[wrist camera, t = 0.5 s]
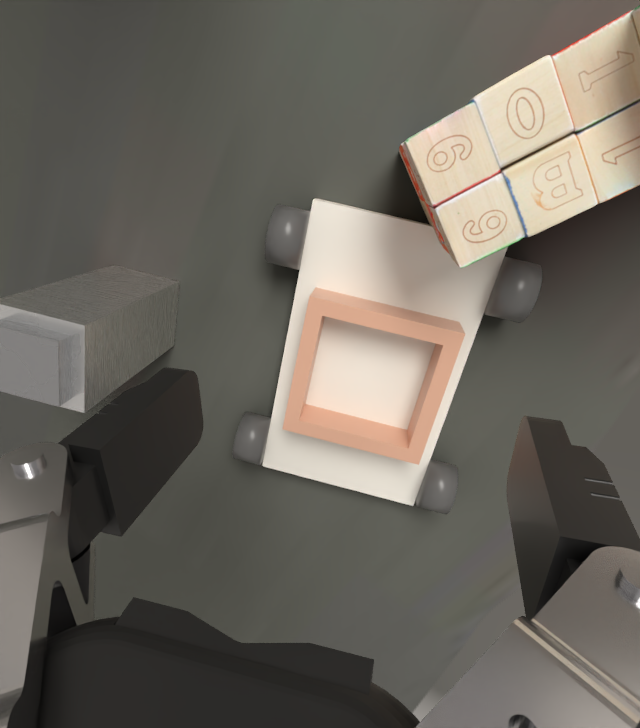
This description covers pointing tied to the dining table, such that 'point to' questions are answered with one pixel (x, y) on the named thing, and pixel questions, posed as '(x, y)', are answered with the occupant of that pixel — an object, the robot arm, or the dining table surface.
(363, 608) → the dining table surface
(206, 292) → the dining table surface
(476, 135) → the stack of blocks
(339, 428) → the chassis
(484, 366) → the dining table surface
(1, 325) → the grey tall block
